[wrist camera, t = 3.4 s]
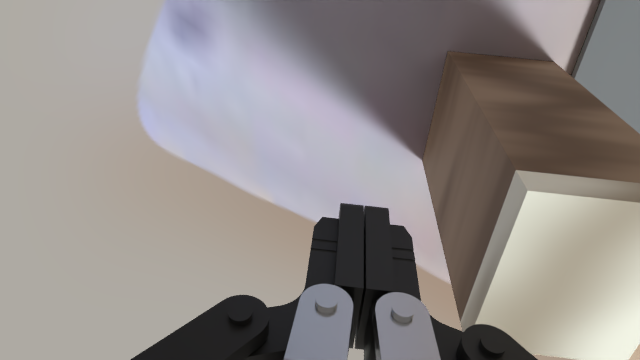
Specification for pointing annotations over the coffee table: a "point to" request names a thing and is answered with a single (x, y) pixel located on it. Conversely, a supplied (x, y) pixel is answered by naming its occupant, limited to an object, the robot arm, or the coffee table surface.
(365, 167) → the coffee table surface
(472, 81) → the brown wooden block
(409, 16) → the coffee table surface
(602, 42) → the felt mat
